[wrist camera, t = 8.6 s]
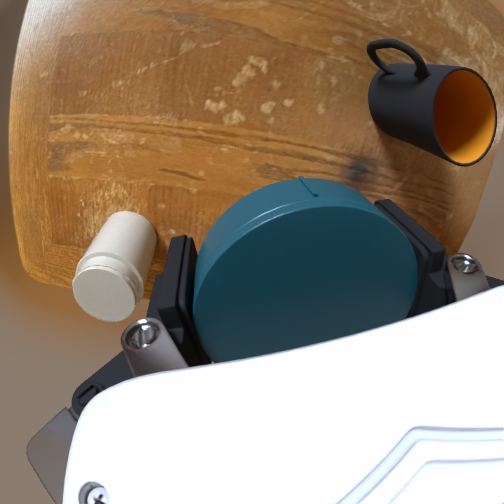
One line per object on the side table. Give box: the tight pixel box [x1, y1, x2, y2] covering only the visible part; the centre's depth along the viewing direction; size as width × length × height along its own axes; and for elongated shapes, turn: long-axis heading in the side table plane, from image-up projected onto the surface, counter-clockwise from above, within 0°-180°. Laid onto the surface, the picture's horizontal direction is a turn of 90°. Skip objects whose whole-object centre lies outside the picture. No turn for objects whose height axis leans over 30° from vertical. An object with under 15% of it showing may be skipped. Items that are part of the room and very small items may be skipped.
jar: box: [72, 211, 157, 322], centre depth 26 cm, size 6×6×10 cm
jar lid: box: [193, 176, 418, 363], centre depth 9 cm, size 7×7×2 cm
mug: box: [367, 39, 497, 166], centre depth 20 cm, size 8×12×10 cm
